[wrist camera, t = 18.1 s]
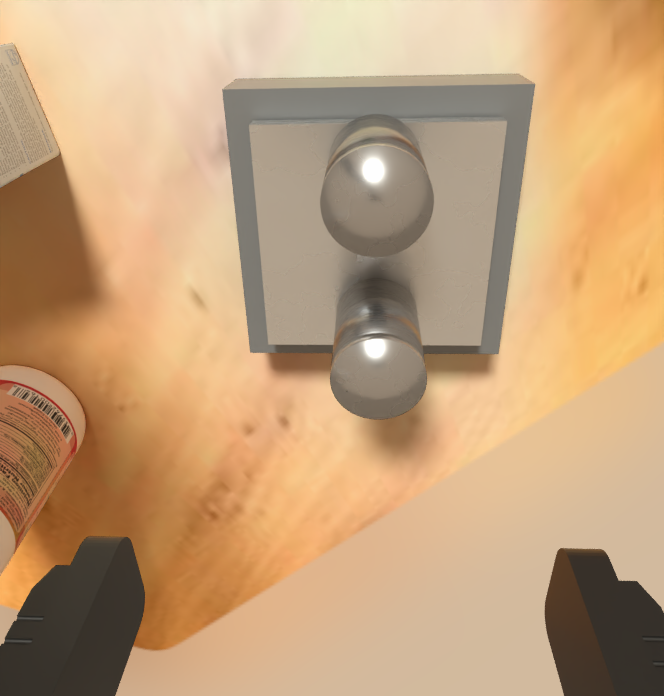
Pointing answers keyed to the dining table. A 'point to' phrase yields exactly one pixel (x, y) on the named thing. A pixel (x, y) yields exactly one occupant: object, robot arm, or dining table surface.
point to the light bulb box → (21, 121)
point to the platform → (349, 268)
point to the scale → (399, 102)
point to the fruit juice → (32, 447)
